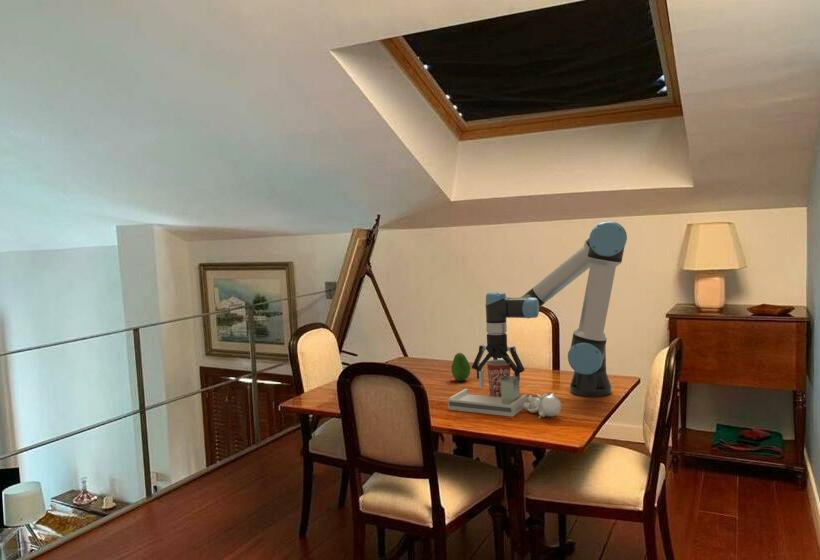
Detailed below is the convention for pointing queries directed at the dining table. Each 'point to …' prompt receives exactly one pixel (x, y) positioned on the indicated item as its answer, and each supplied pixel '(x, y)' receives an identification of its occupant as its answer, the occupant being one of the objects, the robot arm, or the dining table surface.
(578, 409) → the dining table surface
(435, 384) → the dining table surface
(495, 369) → the mug
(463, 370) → the avocado
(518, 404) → the shelf
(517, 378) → the tea tin
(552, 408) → the figurine
